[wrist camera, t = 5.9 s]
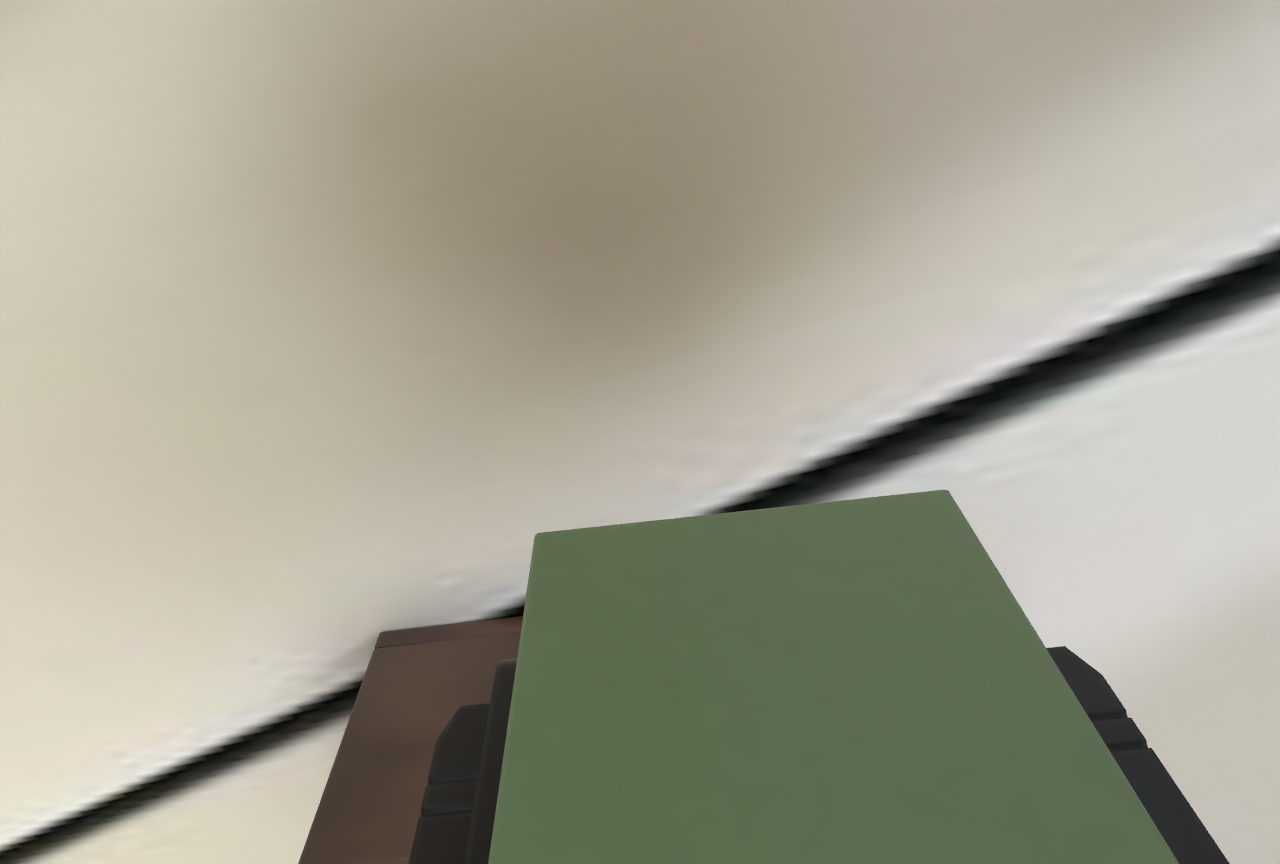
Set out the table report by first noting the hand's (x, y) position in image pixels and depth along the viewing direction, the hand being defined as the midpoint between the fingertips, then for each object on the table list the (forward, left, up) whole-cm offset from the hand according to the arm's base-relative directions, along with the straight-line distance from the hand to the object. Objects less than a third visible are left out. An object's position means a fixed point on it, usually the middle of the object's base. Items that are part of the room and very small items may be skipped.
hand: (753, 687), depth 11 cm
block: (0, 0, 0) cm, 0 cm away
